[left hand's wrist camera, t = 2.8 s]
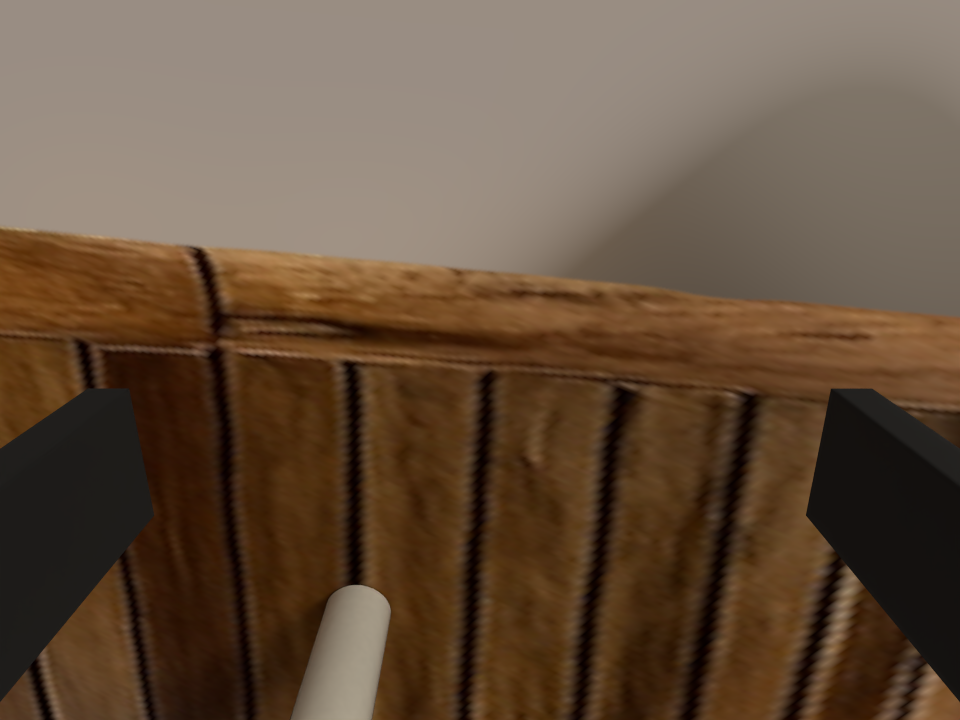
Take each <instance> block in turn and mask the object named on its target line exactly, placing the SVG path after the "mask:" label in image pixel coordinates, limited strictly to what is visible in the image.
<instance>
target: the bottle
mask: <svg viewBox="0 0 960 720" xmlns="http://www.w3.org/2000/svg"><path fill="white" fill-rule="evenodd" d="M390 617H391V609H390V606H389V603H388V601H387V600H386V598H385V597H384V596H383V595H382V594H381V593H380V592H378V591H377V590H375V589H373V588H370V587H367V586H362V585H350V586H346V587H343V588H341V589H339V590H337V591H336V592H334V593H333V594H332V595H331V596H330V598H329V599H328V601H327V604H326V607H325V610H324V613H323V617H322V620H321V623H320V626H319V629H318V632H317V636H316V639H315V642H314V645H313V648H312V651H311V654H310V658H309V661H308V664H307V667H306V670H305V673H304V677H303V680H302V683H301V686H300V689H299V692H298V695H297V699H296V702H295V705H294V708H293V711H292V714H291V718H290V720H372V717H373V711H374V706H375V700H376V695H377V689H378V684H379V678H380V673H381V667H382V661H383V656H384V650H385V645H386V639H387V634H388V628H389V623H390Z"/></svg>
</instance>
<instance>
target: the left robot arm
mask: <svg viewBox="0 0 960 720" xmlns="http://www.w3.org/2000/svg"><path fill="white" fill-rule="evenodd" d="M153 516H154V513H153V508H152V503H151V498H150V492H149V487H148V482H147V477H146V472H145V467H144V462H143V457H142V452H141V447H140V442H139V437H138V432H137V427H136V422H135V417H134V412H133V407H132V402H131V397H130V392H129V389H87V390H85V391H84V392H82V393H81V394H79V395H78V396H77V397H75V398H74V399H72V400H71V401H69V402H68V403H66V404H65V405H63V406H62V407H61V408H59V409H58V410H56V411H55V412H53V413H52V414H50V415H49V416H47V417H46V418H44V419H43V420H42V421H40V422H39V423H37V424H36V425H34V426H33V427H31V428H30V429H28V430H27V431H25V432H24V433H23V434H21V435H20V436H18V437H17V438H15V439H14V440H12V441H11V442H9V443H8V444H7V445H5V446H4V447H2V448H1V449H0V701H1V700H2V699H3V698H4V697H5V695H6V694H7V693H8V692H9V691H10V689H11V688H12V687H13V686H14V684H15V683H16V682H17V681H18V680H19V678H20V677H21V676H22V675H23V674H24V672H25V671H26V670H27V669H28V668H29V666H30V665H31V664H32V663H33V661H34V660H35V659H36V658H37V657H38V655H39V654H40V653H41V652H42V651H43V649H44V648H45V647H46V646H47V644H48V643H49V642H50V641H51V640H52V638H53V637H54V636H55V635H56V634H57V632H58V631H59V630H60V629H61V627H62V626H63V625H64V624H65V623H66V621H67V620H68V619H69V618H70V617H71V615H72V614H73V613H74V612H75V611H76V609H77V608H78V607H79V606H80V604H81V603H82V602H83V601H84V600H85V598H86V597H87V596H88V595H89V594H90V592H91V591H92V590H93V589H94V587H95V586H96V585H97V584H98V583H99V581H100V580H101V579H102V578H103V577H104V575H105V574H106V573H107V572H108V570H109V569H110V568H111V567H112V566H113V564H114V563H115V562H116V561H117V560H118V558H119V557H120V556H121V555H122V554H123V552H124V551H125V550H126V549H127V547H128V546H129V545H130V544H131V543H132V541H133V540H134V539H135V538H136V537H137V535H138V534H139V533H140V532H141V530H142V529H143V528H144V527H145V526H146V524H147V523H148V522H149V521H150V520H151V518H152V517H153ZM806 516H807V517H808V518H809V520H810V521H811V522H812V523H813V524H814V526H815V527H816V528H817V529H818V530H819V532H820V533H821V534H822V535H823V537H824V538H825V539H826V540H827V541H828V543H829V544H830V545H831V546H832V547H833V549H834V550H835V551H836V552H837V554H838V555H839V556H840V557H841V558H842V560H843V561H844V562H845V563H846V564H847V566H848V567H849V568H850V569H851V571H852V572H853V573H854V574H855V575H856V577H857V578H858V579H859V580H860V581H861V583H862V584H863V585H864V586H865V587H866V589H867V590H868V591H869V592H870V594H871V595H872V596H873V597H874V598H875V600H876V601H877V602H878V603H879V604H880V606H881V607H882V608H883V609H884V611H885V612H886V613H887V614H888V615H889V617H890V618H891V619H892V620H893V621H894V623H895V624H896V625H897V626H898V627H899V629H900V630H901V631H902V632H903V634H904V635H905V636H906V637H907V638H908V640H909V641H910V642H911V643H912V644H913V646H914V647H915V648H916V649H917V651H918V652H919V653H920V654H921V655H922V657H923V658H924V659H925V660H926V661H927V663H928V664H929V665H930V666H931V668H932V669H933V670H934V671H935V672H936V674H937V675H938V676H939V677H940V678H941V680H942V681H943V682H944V683H945V684H946V686H947V687H948V688H949V689H950V691H951V692H952V693H953V694H954V695H955V697H956V698H957V699H958V700H959V701H960V449H959V448H958V447H956V446H955V445H953V444H952V443H951V442H949V441H948V440H946V439H945V438H943V437H942V436H940V435H939V434H937V433H936V432H935V431H933V430H932V429H930V428H929V427H927V426H926V425H924V424H923V423H921V422H920V421H918V420H917V419H916V418H914V417H913V416H911V415H910V414H908V413H907V412H905V411H904V410H902V409H901V408H899V407H898V406H897V405H895V404H894V403H892V402H891V401H889V400H888V399H886V398H885V397H883V396H882V395H881V394H879V393H878V392H876V391H875V390H873V389H831V392H830V397H829V402H828V407H827V412H826V417H825V422H824V427H823V432H822V437H821V442H820V447H819V452H818V457H817V462H816V467H815V472H814V477H813V482H812V487H811V492H810V498H809V503H808V508H807V513H806Z"/></svg>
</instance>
